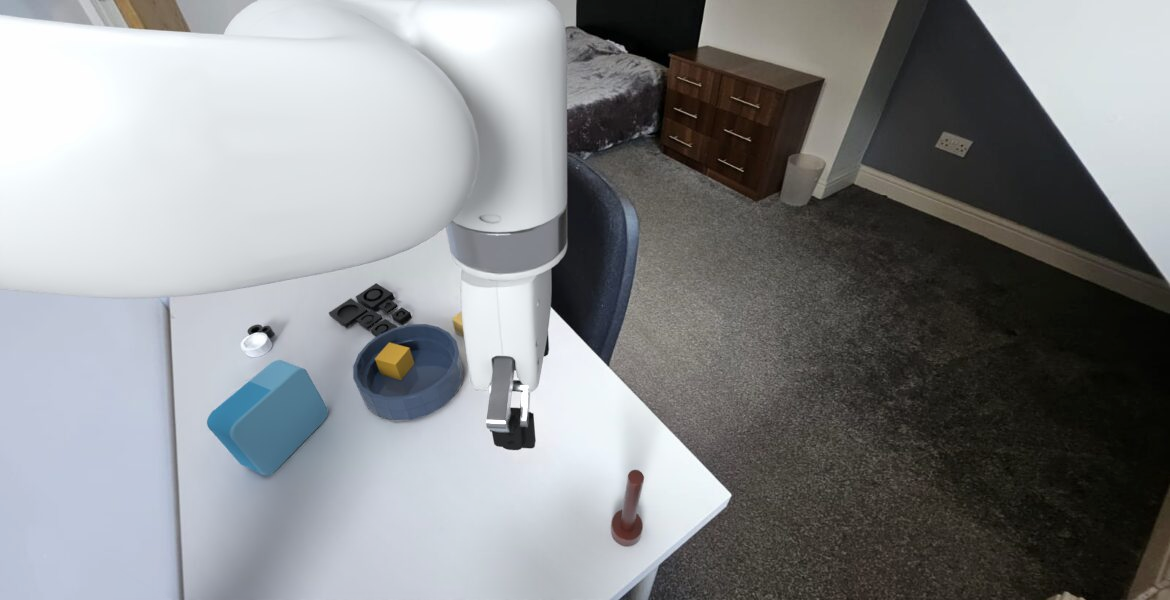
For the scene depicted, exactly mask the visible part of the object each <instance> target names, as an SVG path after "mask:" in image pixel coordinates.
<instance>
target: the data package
mask: <svg viewBox="0 0 1170 600" xmlns="http://www.w3.org/2000/svg"><path fill="white" fill-rule="evenodd" d="M309 374H310V373H308V371H307V369H305V368H303V367H300V366H298V365H295V364H293V363H290V362H288V361H286V360H282V359H277V360H274V361H271V362H270V363H269V364H268V365H267V366H265V367H264V368H263V369H262V370H260V372H258V373H257V374H256V375H254V376H253V377H252V378H251V379H250V380H249V381H247V382H246V383H244V385H242V386H241V387H239V389H237V390H236V391H235V392H234V393H233V394H231V396H229V397H228V398H226V399H225V401H223V402H222V403H220V404H219V405H218V406H216V408H215V409H214V410H213V411H211V412H210V414H209V415H208V417H207V420H206V425H207V428H208V429H209V430H210V431H211V433H212V434H213V435H214V436H215V437H216V438H217V440H218V441H219V442H220V444H222V445H223V446H224V447H225V449H227V451H228V452H229V453H230V455H232V456H233V457H234V459H235V460H236V461H237V462H238V463H239V465H241V466H243V467H245V468H247V469H249V470H252V471H254V472H255V473H258V474H260V475H262V476H270V475H272V474H274V473H275V472H276V471H277V470H278V469H280V467H281V466H282V465H283V464H285V462H286V461H287V460H288V459H289V458H290V457H291V456H292V455H293V454H294V453H295V452H296V451H297V450H298V449H299V448H300V447H301V445H302V444H303V443H304V442H306V440H308V438H309V437H310V436H311V435H313V433H314V432H315V431H316V430H317V429H318V428H319V427H320V426H321V425H322V424H323V423H324V422H325V420H326V419H327V418H328V414H329V409H328V406H327V405H326V403H325V401H324V399H323V397H322V395H321V394H320V392H319V390H318V388H317V387H316V385H315V384H314V381H313V380H312V378H311V376H310V375H309Z"/></svg>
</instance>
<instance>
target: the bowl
mask: <svg viewBox="0 0 1170 600" xmlns="http://www.w3.org/2000/svg"><path fill="white" fill-rule="evenodd" d="M389 342H390V343H393V344H397V345H401V346H404V347H408V348H410V351H411V354H412V357H413V360H414V365H413V366H412V367H411V369H410V370H409V371H408V372H407V374H406V375H405V376H404V377H403V379H402V380H398V379H395V378H391V377H388V376H385V375H381V373H380V371H379V368H378V366H377V363H376V361H375V358H376V357H377V356H378V354H379V353H380V352H381V351H382V350H383V349H384V348H385V347H386V345H387V344H388V343H389ZM463 367H464V366H463V364H462V358H461V353H460V349H459V346H458V342H457V340H456V339H455V338H454V337H453V335H452V334H451V333H450V332H449V331H447V330H445V329H443V328H441V327H440V326H436V325H431V324H427V323H411V324H410V323H409V324H404V325H400V326H397V327H396V328H393V329H391V330H389V331H386V332H384V333H382V334H380V335H378V336H377V337H376V336H375V337H374V338H372V339H371V340H370V341H368V342H367V343H366V344H365V346H364V347H363V348H362V349H361V350H360V351H359V353H358V354H357V356H356V358H355V360H354V363H353V365H352V378H353V382H354V383H355V385H356V387H357V390H358V391H359V394H360V396H361V398H362V401H363V402H364V403H365V406H366V407H367V409H368V410H369V411H371V412H372V413H373V414H375V415H377V416H378V417H380V418H383V419H387V420H390V421H413V420H416V419H419V418H423V417H427V416H428V415H431V414H432V413H434V412H436V411H437V410H440V409H441V408H444V407H445V405H447V403H449V402H450V401H451V400H452V399H453V398H454V397H455V396H456V394H457V392H458V390H460V387H461V386H462V383H463V378H464V368H463Z"/></svg>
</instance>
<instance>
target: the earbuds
mask: <svg viewBox="0 0 1170 600" xmlns="http://www.w3.org/2000/svg"><path fill="white" fill-rule="evenodd" d="M395 298H396V297H395V295H394V293H393V292H392V291H390V290H389V289H387V288H385V287H384V286H382V285H380V284H379V283H376V282H375V283H374V284H373V285H371V286H369V287H368V288H367V289H365V290H363V291H362V292H360V293H359V294H357V295H355V299H356V300H354V299H353V298H351V297H350V298H349V299H347V300H345V301H344V302H342V303H341V304H339V305H338V306H337V307H335V308H333V309H332V310H330V311H329V312H328V315H329V317H331V318H332V319H333V320H335V321H336V322H338V323H339V324H341V325H342V326H344V328H349V327H350V326H352V325H353V324H355V323H358V324H359V325H360V326H362V327H363V328H365V329H366V330H370V332H371V334H372V335H373V336H374V337H375V338H376V337H377V336H378V335H380V334H382V333H384V332H386V331H389V330H391V329H393V328H396V327H398V325H396V324H394V322H395V323H397V324H399V325H400V326H404V325H405V324H406V323H407V322H408V321H410V320H411V319H412V318H413V316H412V314H411V311H409V310H408V309H405V308H404V307H402V306H401V307H400V308H398V307H399V305H398V303H396V302H395V301H394V300H395ZM397 308H398V309H397ZM395 309H397V310H396V311H394V310H395ZM379 310H380V311H381V312H384V313H385V314H386V315H388V314H390V313H391V312H393V311H394V312H393V313H392V314H390V315H391V318H392V320H393V321H394V322H391V321H390V320H388V319H387V318H384V317H383V316H382V315H381V314H379V313H378V312H379ZM246 332H247V334H248V335H247V336H246V337H244V338H243V339H242V341H241V342H240V348H241V350H242V352H244V353H245V355H246V356H247V357H249V358H259V357H262V356H264V355H266V354H267V353H268V352H269V351H270V350H271V349H272V347H273V342H272V341H271V339H272V338H273V337H274V336H275V332H274V330H273V329H272V327H271V326H270V325H264V326H262V324H259V323H258V324H254V325H251V326H250V327H249V328H247V330H246Z"/></svg>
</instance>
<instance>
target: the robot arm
mask: <svg viewBox="0 0 1170 600" xmlns="http://www.w3.org/2000/svg"><path fill="white" fill-rule="evenodd" d="M567 41H568V40H567V29H566V26H565V22H564V19H563V17H562V14H561V12H560V11H559V10H558V8H557V7H556V6H555V5H554V4H553V3H551V1H549V0H255V1H254V2H251V3H250V4H248V5H247V6H245V7H244V8H243V9H242V10H240V11H239V12H238V13H237V14H236V15H235V16H234V17H233V18H232V19H231V20H230V22H229V24H227V27H226V28H225V30H224V32H223V34H220V33H205V32H204V33H203V32H191V31H177V30H161V29H160V30H159V29H143V28H131V27H121V26H119V27H118V26H108V25H107V26H106V25H94V24H84V23H74V22H65V21H56V20H49V19H38V18H29V17H22V16H21V17H20V16H14V15H8V14H0V290H2V291H10V292H11V291H12V292H23V293H35V294H46V295H57V296H66V297H77V298H79V297H81V298H94V299H95V298H98V299H113V300H119V299H120V300H124V299H125V300H126V299H127V300H128V299H129V300H131V299H132V300H133V299H135V300H136V299H140V300H141V299H142V300H143V299H144V300H145V299H150V300H151V299H164V298H165V299H166V298H178V297H192V296H200V295H206V294H207V295H208V294H216V293H222V292H223V293H225V292H230V291H235V290H242V289H247V288H253V287H254V288H255V287H259V286H264V285H269V284H270V285H271V284H275V283H280V282H285V281H290V280H297V279H300V278H301V279H302V278H307V277H312V276H317V275H323V274H327V273H332V272H336V271H343V270H347V269H351V268H355V267H359V266H362V265H367V264H372V263H377V262H378V261H381V260H385V259H388V258H390V257H393V256H395V255H399V254H401V253H404V252H407V251H409V250H411V249H413V248H416V247H418V246H420V245H421V244H423V243H425V242H427V241H428V240H430V239H432V238H433V237H436V235H438V234H439V233H440V232H441V231H443V230H444V229H445V230H446V237H447V241H448V248H449V253H450V257H451V259H452V261H453V263H454V264H455V265H456V266H457V268H459V269H460V310H461V311H460V312H462V323H463V333H464V337H463V340H464V346H465V354H466V355H465V356H466V361H467V362H466V363H467V369H468V375H469V381H470V384H471V387H472V388H473V389H474V390H475V391H481V392H487V391H488V389H489V397H488V398H489V399H488V403H487V404H488V405H487V411H486V412H487V413H486V420H485V421H486V422H485V427H486V428H487V429H488V430H489V432H491V435H492V440H493V444H494V446H496V447H498V448H503V449H505V450H508V451H519V450H521V449H534V448H535V447H536V440H537V439H536V429H535V415H534V412H531V411H530V408H531V407H530V406H531V405H530V404H531V393H533V392H534V391H536V389H538V387H539V384H540V380H541V374H542V368H543V363H544V358H545V357H547V356H548V355H549V351H550V344H549V343H550V342H549V326H550V319H551V310H552V308H551V307H552V288H553V287H552V285H553V283H552V280H553V279H552V268H554V267H555V266H557V265H558V264H559V263H560V261H561V260H562V259H563V258H564V257H565V255H566V253H567V250H568V45H567ZM515 372H516V377H517V379H514V376H515ZM513 392H519V393H520V400H519V401H520V403H519V407H511V404H512V403H511V402H512V395H513Z"/></svg>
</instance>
